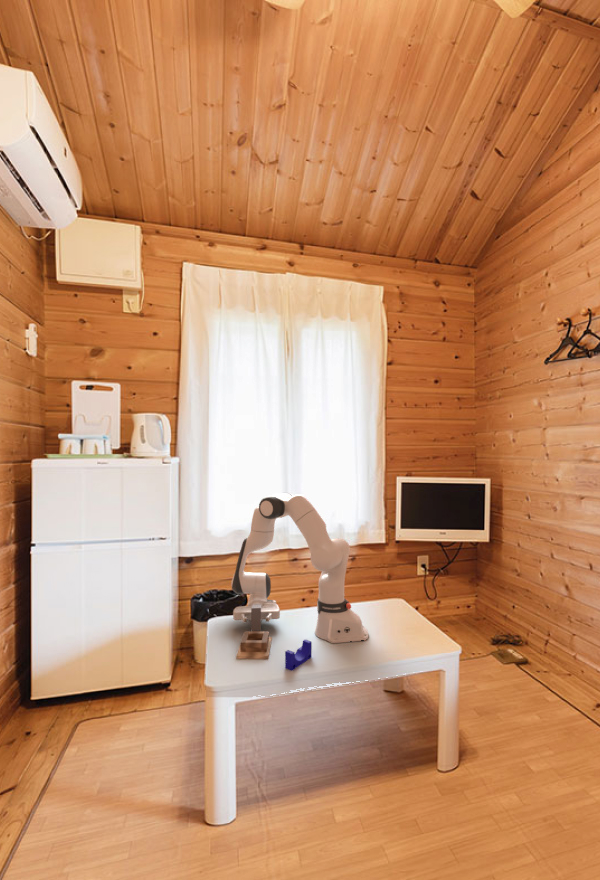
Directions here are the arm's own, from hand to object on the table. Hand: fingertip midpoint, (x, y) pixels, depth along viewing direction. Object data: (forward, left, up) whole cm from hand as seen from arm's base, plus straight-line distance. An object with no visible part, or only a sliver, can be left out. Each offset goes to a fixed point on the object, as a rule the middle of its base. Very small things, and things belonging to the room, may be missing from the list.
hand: (256, 620), depth 169 cm
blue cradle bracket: (-18, +22, -7) cm, 29 cm away
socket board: (-1, +11, -7) cm, 13 cm away
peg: (0, -1, -7) cm, 7 cm away
